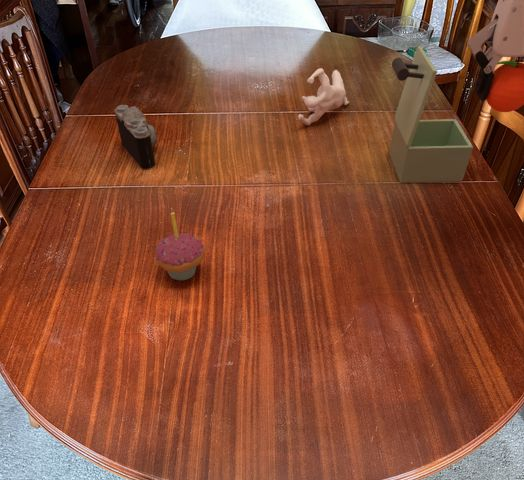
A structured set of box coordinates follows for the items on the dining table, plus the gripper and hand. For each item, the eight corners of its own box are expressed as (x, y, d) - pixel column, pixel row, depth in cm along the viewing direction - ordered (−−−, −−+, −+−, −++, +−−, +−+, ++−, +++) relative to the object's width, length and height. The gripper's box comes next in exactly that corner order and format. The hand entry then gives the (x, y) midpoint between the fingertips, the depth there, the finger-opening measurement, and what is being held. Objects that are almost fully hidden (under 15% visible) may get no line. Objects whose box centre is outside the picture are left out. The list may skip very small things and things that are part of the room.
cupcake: (155, 262, 93) (143, 205, 84) (200, 253, 94) (193, 196, 85) (164, 292, 87) (152, 235, 78) (211, 282, 89) (205, 225, 80)
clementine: (466, 111, 81) (480, 63, 75) (479, 95, 84) (494, 48, 79) (517, 124, 78) (536, 74, 72) (529, 107, 81) (547, 59, 76)
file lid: (421, 46, 101) (392, 42, 100) (437, 71, 93) (406, 67, 92) (397, 118, 112) (371, 115, 111) (410, 146, 104) (382, 143, 103)
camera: (170, 163, 116) (163, 119, 108) (142, 171, 114) (133, 127, 106) (145, 136, 124) (137, 94, 117) (119, 143, 122) (109, 101, 114)
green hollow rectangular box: (446, 152, 118) (456, 119, 112) (462, 181, 110) (473, 147, 104) (388, 153, 118) (395, 120, 112) (400, 182, 110) (407, 148, 104)
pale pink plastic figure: (311, 54, 130) (310, 68, 116) (359, 68, 131) (363, 84, 117) (297, 107, 138) (294, 126, 124) (342, 120, 139) (344, 140, 125)
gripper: (496, -35, 63) (457, 109, 77) (633, -40, 64) (570, 104, 77) (477, -50, 68) (443, 88, 82) (603, -54, 69) (549, 84, 82)
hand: (505, 95), depth 79 cm, fingers closed on clementine, 7 cm apart
